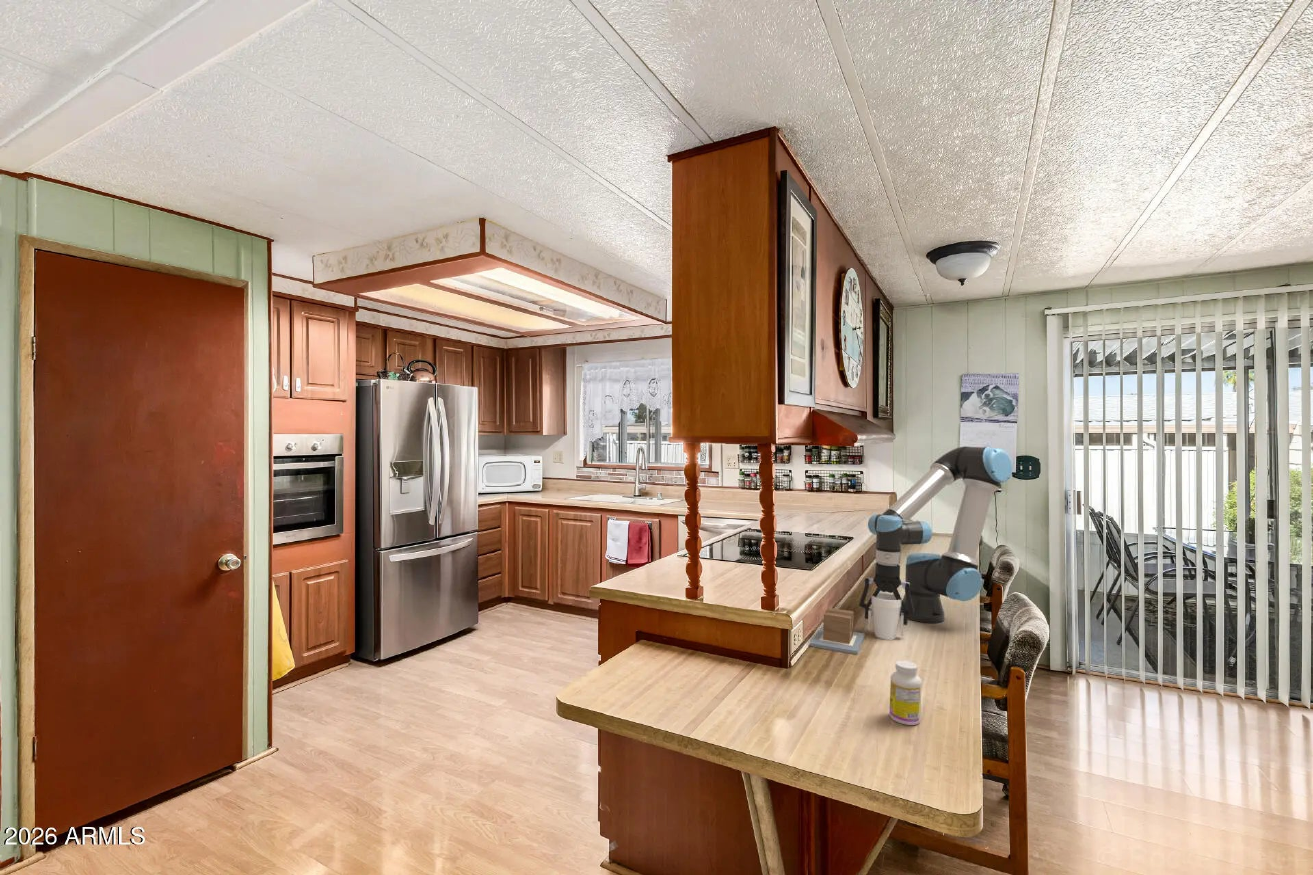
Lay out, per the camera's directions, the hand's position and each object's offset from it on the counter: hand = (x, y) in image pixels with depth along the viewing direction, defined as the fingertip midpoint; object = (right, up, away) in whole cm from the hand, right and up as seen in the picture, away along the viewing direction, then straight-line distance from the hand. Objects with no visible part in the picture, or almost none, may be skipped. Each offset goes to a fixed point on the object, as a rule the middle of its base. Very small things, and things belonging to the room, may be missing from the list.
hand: (885, 631), depth 195 cm
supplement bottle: (-17, -2, -57) cm, 60 cm away
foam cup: (0, -2, 0) cm, 2 cm away
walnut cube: (-17, 0, -6) cm, 18 cm away
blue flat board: (-17, -1, -6) cm, 18 cm away
